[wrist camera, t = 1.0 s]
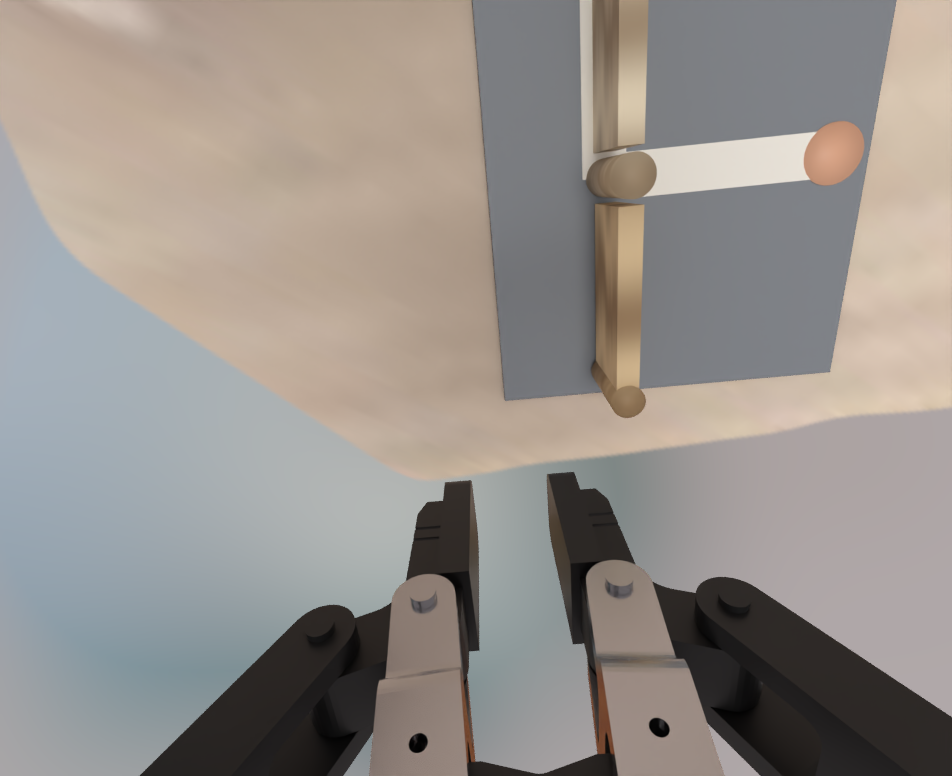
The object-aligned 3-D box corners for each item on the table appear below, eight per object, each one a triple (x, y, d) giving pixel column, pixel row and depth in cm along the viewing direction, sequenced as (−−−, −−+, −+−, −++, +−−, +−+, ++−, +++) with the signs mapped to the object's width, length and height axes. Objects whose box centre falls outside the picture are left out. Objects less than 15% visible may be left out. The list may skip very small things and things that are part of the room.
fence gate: (589, 204, 28) (613, 208, 23) (621, 201, 28) (652, 204, 23) (591, 384, 32) (611, 419, 27) (619, 381, 32) (645, 416, 27)
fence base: (582, -102, 23) (614, -188, 18) (625, -107, 23) (670, -196, 18) (586, 198, 28) (612, 201, 23) (621, 195, 28) (655, 197, 23)
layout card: (463, -105, 24) (463, -111, 23) (919, -162, 23) (928, -170, 22) (504, 398, 33) (505, 401, 33) (825, 369, 33) (830, 372, 32)
